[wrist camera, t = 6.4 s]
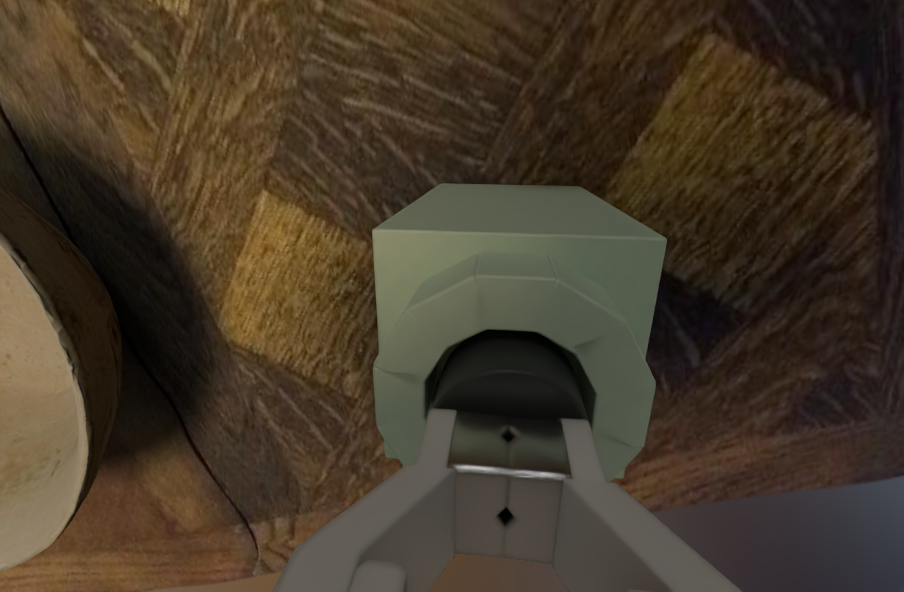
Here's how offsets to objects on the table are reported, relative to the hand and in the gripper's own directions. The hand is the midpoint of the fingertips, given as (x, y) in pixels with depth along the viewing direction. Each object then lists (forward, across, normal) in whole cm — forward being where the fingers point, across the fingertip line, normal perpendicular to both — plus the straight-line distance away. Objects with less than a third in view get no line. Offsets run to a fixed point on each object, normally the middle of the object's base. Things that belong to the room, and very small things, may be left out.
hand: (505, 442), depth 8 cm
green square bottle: (+15, 0, 0) cm, 15 cm away
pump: (+2, 0, 0) cm, 2 cm away
